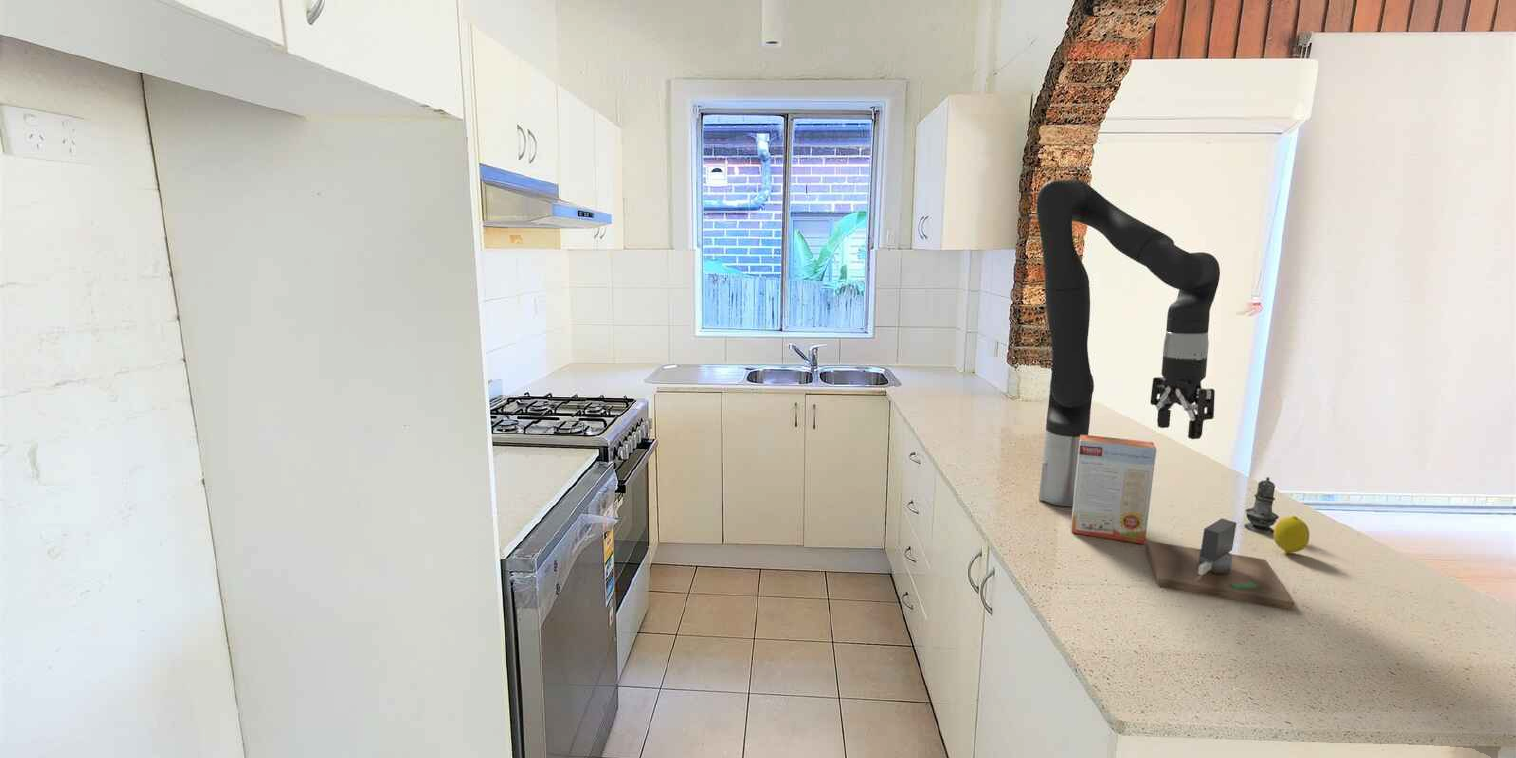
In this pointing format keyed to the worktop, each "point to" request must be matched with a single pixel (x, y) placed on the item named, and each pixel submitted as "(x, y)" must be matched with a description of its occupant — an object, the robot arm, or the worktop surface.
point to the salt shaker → (1262, 509)
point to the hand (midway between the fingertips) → (1178, 432)
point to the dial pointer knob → (1217, 547)
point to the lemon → (1291, 534)
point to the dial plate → (1218, 576)
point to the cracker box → (1113, 488)
